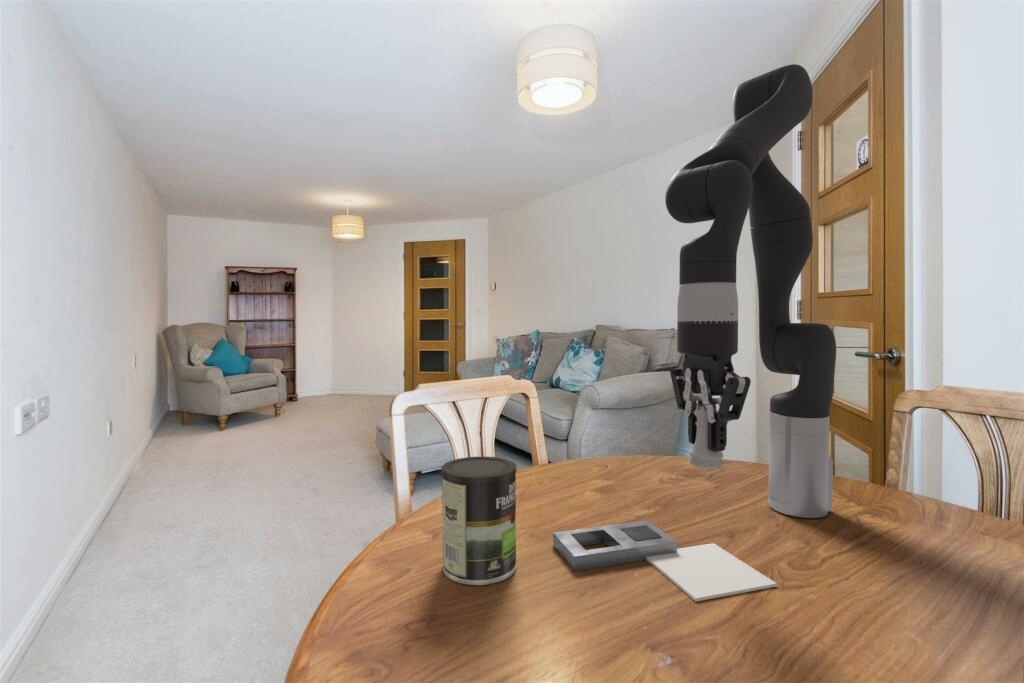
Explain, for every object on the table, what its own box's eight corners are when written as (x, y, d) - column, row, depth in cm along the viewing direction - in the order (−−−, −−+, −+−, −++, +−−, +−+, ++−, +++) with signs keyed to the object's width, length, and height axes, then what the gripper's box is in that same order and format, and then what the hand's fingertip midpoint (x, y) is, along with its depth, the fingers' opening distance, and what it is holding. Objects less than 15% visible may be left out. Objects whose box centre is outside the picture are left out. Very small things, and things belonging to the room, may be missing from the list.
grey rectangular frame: (647, 532, 80) (647, 519, 80) (676, 555, 72) (677, 540, 72) (553, 545, 75) (553, 531, 75) (574, 571, 67) (574, 555, 67)
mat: (713, 545, 75) (713, 543, 75) (776, 586, 63) (776, 583, 63) (642, 556, 71) (642, 553, 71) (695, 601, 60) (695, 598, 60)
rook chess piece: (727, 470, 64) (727, 409, 64) (691, 468, 65) (691, 408, 65) (720, 460, 69) (720, 403, 68) (686, 459, 70) (686, 402, 69)
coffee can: (526, 555, 72) (526, 459, 71) (500, 592, 62) (500, 480, 62) (462, 545, 76) (461, 453, 75) (428, 578, 66) (426, 472, 65)
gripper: (771, 318, 60) (769, 458, 61) (697, 318, 74) (697, 433, 75) (719, 318, 58) (717, 464, 59) (653, 319, 72) (652, 437, 73)
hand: (706, 446), depth 67 cm, fingers closed on rook chess piece, 3 cm apart
